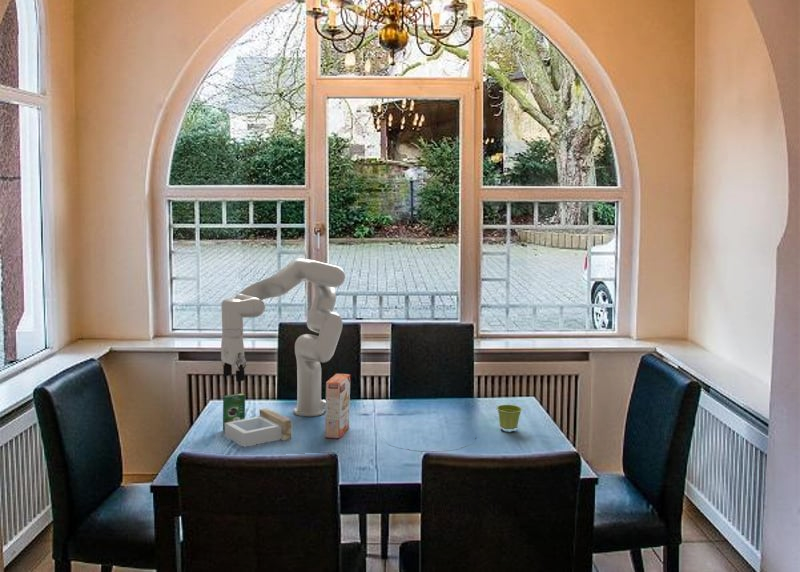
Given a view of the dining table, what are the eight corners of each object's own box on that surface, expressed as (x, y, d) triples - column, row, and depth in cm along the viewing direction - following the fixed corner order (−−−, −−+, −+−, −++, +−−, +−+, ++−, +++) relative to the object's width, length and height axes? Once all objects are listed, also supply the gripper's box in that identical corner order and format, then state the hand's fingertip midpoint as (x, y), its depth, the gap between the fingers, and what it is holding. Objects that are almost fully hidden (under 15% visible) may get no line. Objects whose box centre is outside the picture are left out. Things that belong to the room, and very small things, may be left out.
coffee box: (242, 426, 306) (241, 392, 304) (245, 428, 304) (245, 394, 302) (222, 430, 301) (222, 395, 299) (226, 432, 299) (225, 397, 297)
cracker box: (340, 439, 293) (340, 383, 290) (324, 438, 294) (324, 381, 291) (350, 427, 306) (351, 373, 303) (335, 426, 307) (335, 372, 304)
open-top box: (261, 428, 303) (261, 415, 303) (281, 439, 292) (281, 425, 291) (224, 436, 294) (224, 422, 293) (244, 447, 282) (244, 433, 282)
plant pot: (524, 428, 308) (525, 406, 307) (516, 435, 300) (517, 413, 299) (500, 425, 312) (501, 403, 311) (492, 432, 304) (493, 409, 302)
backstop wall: (266, 426, 306) (266, 408, 305) (291, 438, 292) (291, 420, 291) (259, 427, 304) (259, 409, 303) (284, 440, 290) (283, 421, 289)
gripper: (212, 330, 300) (213, 375, 303) (234, 337, 287) (236, 384, 290) (230, 327, 305) (232, 371, 308) (253, 335, 292) (254, 381, 294)
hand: (233, 378), depth 299 cm, fingers open, 9 cm apart
